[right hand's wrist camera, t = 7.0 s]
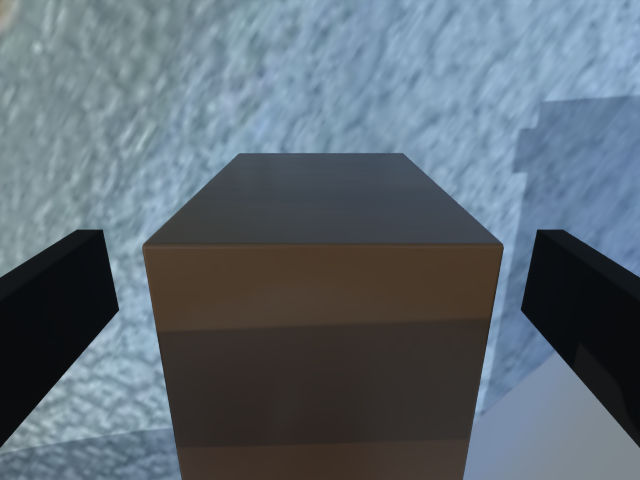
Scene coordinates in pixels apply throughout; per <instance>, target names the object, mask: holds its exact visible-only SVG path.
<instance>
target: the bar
mask: <svg viewBox="0 0 640 480" xmlns="http://www.w3.org/2000/svg"><path fill="white" fill-rule="evenodd" d="M142 249H143V255H144V261H145V267H146V273H147V278H148V284H149V290H150V296H151V302H152V308H153V313H154V319H155V325H156V331H157V337H158V343H159V349H160V354H161V360H162V366H163V372H164V378H165V384H166V389H167V395H168V401H169V407H170V413H171V419H172V424H173V430H174V436H175V442H176V448H177V454H178V459H179V465H180V471H181V477H182V480H463V475H464V470H465V464H466V458H467V453H468V447H469V442H470V436H471V430H472V425H473V419H474V413H475V408H476V402H477V396H478V391H479V385H480V379H481V374H482V368H483V362H484V357H485V351H486V345H487V340H488V334H489V328H490V323H491V317H492V311H493V306H494V300H495V294H496V289H497V283H498V277H499V272H500V266H501V260H502V255H503V249H504V246H503V244H502V243H501V242H500V241H499V240H498V239H497V238H496V237H495V236H494V235H492V234H491V233H490V232H489V231H488V230H487V229H486V228H485V227H484V226H482V225H481V224H480V223H479V222H478V221H477V220H476V219H475V218H474V217H473V216H471V215H470V214H469V213H468V212H467V211H466V210H465V209H464V208H463V207H462V206H460V205H459V204H458V203H457V202H456V201H455V200H454V199H453V198H452V197H451V196H449V195H448V194H447V193H446V192H445V191H444V190H443V189H442V188H441V187H440V186H438V185H437V184H436V183H435V182H434V181H433V180H432V179H431V178H430V177H428V176H427V175H426V174H425V173H424V172H423V171H422V170H421V169H420V168H419V167H417V166H416V165H415V164H414V163H413V162H412V161H411V160H410V159H409V158H408V157H406V156H405V155H404V154H403V153H240V154H238V155H237V156H236V157H235V158H234V159H233V160H232V161H231V162H230V163H228V164H227V165H226V166H225V167H224V168H223V169H222V170H221V171H220V172H219V173H218V174H217V175H216V176H215V177H214V178H213V179H212V180H211V181H209V182H208V183H207V184H206V185H205V186H204V187H203V188H202V189H201V190H200V191H199V192H198V193H197V194H196V195H195V196H194V197H193V198H191V199H190V200H189V201H188V202H187V203H186V204H185V205H184V206H183V207H182V208H181V209H180V210H179V211H178V212H177V213H176V214H175V215H173V216H172V217H171V218H170V219H169V220H168V221H167V222H166V223H165V224H164V225H163V226H162V227H161V228H160V229H159V230H158V231H157V232H156V233H154V234H153V235H152V236H151V237H150V238H149V239H148V240H147V241H146V242H145V243H144V244H143V247H142Z"/></svg>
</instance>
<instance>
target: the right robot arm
mask: <svg viewBox="0 0 640 480" xmlns="http://www.w3.org/2000/svg"><path fill="white" fill-rule="evenodd" d="M118 311H119V306H118V302H117V297H116V292H115V287H114V282H113V277H112V272H111V268H110V263H109V258H108V253H107V248H106V243H105V238H104V233H103V230H76V231H74V232H72V233H71V234H69V235H68V236H66V237H64V238H63V239H61V240H60V241H58V242H56V243H55V244H53V245H52V246H50V247H48V248H47V249H45V250H44V251H42V252H40V253H39V254H37V255H36V256H34V257H32V258H31V259H29V260H28V261H26V262H24V263H23V264H21V265H20V266H18V267H16V268H15V269H13V270H12V271H10V272H8V273H7V274H5V275H4V276H2V277H0V447H1V446H2V445H3V444H4V443H5V442H6V441H7V439H8V438H9V437H10V436H11V435H12V434H13V432H14V431H15V430H16V429H17V428H18V427H19V425H20V424H21V423H22V422H23V421H24V420H25V419H26V417H27V416H28V415H29V414H30V413H31V412H32V410H33V409H34V408H35V407H36V406H37V405H38V404H39V402H40V401H41V400H42V399H43V398H44V397H45V395H46V394H47V393H48V392H49V391H50V390H51V388H52V387H53V386H54V385H55V384H56V383H57V382H58V380H59V379H60V378H61V377H62V376H63V375H64V373H65V372H66V371H67V370H68V369H69V368H70V366H71V365H72V364H73V363H74V362H75V361H76V360H77V358H78V357H79V356H80V355H81V354H82V353H83V351H84V350H85V349H86V348H87V347H88V346H89V344H90V343H91V342H92V341H93V340H94V339H95V338H96V336H97V335H98V334H99V333H100V332H101V331H102V329H103V328H104V327H105V326H106V325H107V324H108V322H109V321H110V320H111V319H112V318H113V317H114V316H115V314H116V313H117V312H118ZM521 311H522V312H523V313H524V314H525V316H526V317H527V318H528V319H529V320H530V321H531V322H532V324H533V325H534V326H535V327H536V328H537V329H538V331H539V332H540V333H541V334H542V335H543V336H544V338H545V339H546V340H547V341H548V342H549V343H550V344H551V346H552V347H553V348H554V349H555V350H556V351H557V353H558V354H559V355H560V356H561V357H562V358H563V360H564V361H565V362H566V363H567V364H568V365H569V366H570V368H571V369H572V370H573V371H574V372H575V373H576V375H577V376H578V377H579V378H580V379H581V380H582V382H583V383H584V384H585V385H586V386H587V387H588V388H589V390H590V391H591V392H592V393H593V394H594V395H595V397H596V398H597V399H598V400H599V401H600V402H601V403H602V405H603V406H604V407H605V408H606V409H607V410H608V412H609V413H610V414H611V415H612V416H613V417H614V419H615V420H616V421H617V422H618V423H619V424H620V425H621V427H622V428H623V429H624V430H625V431H626V432H627V434H628V435H629V436H630V437H631V438H632V439H633V440H634V442H635V443H636V444H637V445H638V446H639V447H640V277H638V276H636V275H635V274H633V273H632V272H630V271H628V270H627V269H625V268H624V267H622V266H620V265H619V264H617V263H616V262H614V261H612V260H611V259H609V258H608V257H606V256H604V255H603V254H601V253H600V252H598V251H596V250H595V249H593V248H592V247H590V246H588V245H587V244H585V243H584V242H582V241H580V240H579V239H577V238H576V237H574V236H572V235H571V234H569V233H568V232H566V231H564V230H537V234H536V238H535V243H534V248H533V253H532V258H531V263H530V268H529V272H528V277H527V282H526V287H525V292H524V297H523V302H522V307H521Z"/></svg>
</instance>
